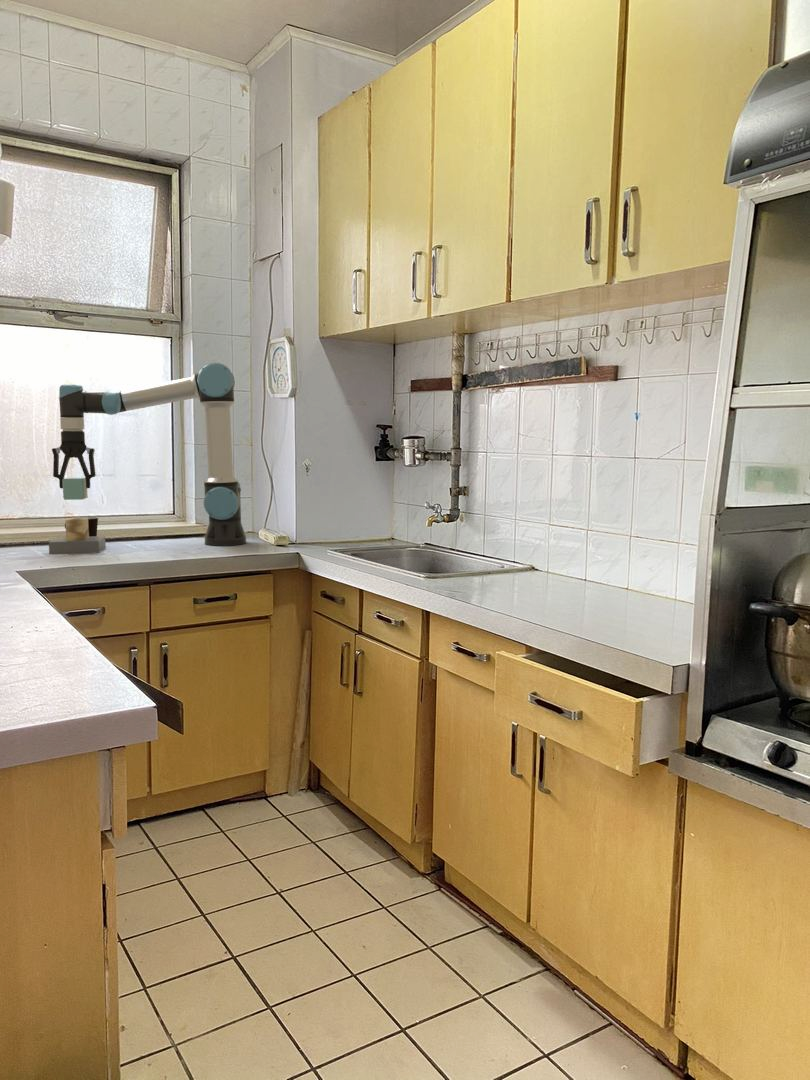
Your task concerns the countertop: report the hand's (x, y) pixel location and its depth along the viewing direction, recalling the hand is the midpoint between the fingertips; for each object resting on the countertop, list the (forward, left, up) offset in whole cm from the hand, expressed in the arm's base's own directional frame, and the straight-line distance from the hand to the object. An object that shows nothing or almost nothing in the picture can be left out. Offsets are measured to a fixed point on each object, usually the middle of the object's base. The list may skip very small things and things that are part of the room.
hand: (75, 497), depth 285 cm
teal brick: (0, 0, 0) cm, 0 cm away
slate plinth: (0, 0, -18) cm, 18 cm away
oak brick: (0, 0, -14) cm, 14 cm away
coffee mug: (+1, -15, -19) cm, 24 cm away
